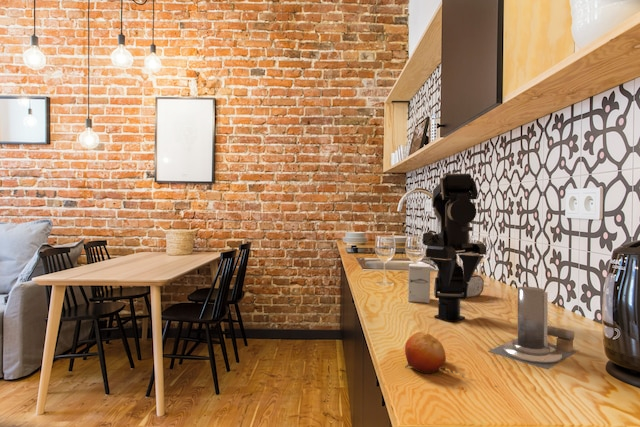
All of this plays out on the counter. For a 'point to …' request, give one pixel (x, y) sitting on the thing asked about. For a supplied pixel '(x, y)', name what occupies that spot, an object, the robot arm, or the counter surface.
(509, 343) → the flange disc
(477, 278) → the tin
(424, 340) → the fruit
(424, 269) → the supplement box
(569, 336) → the bar handle
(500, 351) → the board
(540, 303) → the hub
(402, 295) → the counter surface
